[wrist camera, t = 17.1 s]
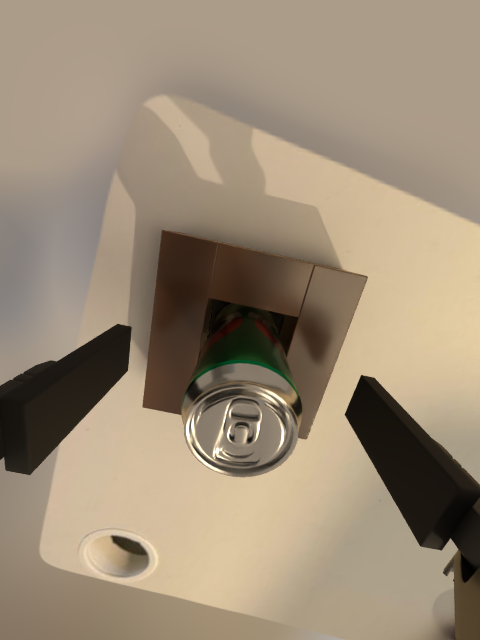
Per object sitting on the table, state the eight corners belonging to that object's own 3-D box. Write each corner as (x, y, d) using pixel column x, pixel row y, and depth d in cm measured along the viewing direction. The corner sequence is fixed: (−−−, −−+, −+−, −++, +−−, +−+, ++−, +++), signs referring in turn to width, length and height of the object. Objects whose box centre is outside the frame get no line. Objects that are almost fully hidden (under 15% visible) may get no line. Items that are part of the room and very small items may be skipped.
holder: (160, 379, 22) (142, 407, 18) (179, 232, 18) (161, 229, 14) (296, 407, 23) (307, 440, 19) (344, 269, 19) (368, 276, 15)
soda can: (211, 351, 21) (171, 477, 10) (217, 295, 20) (176, 366, 8) (268, 358, 21) (295, 491, 10) (278, 302, 20) (323, 384, 8)
